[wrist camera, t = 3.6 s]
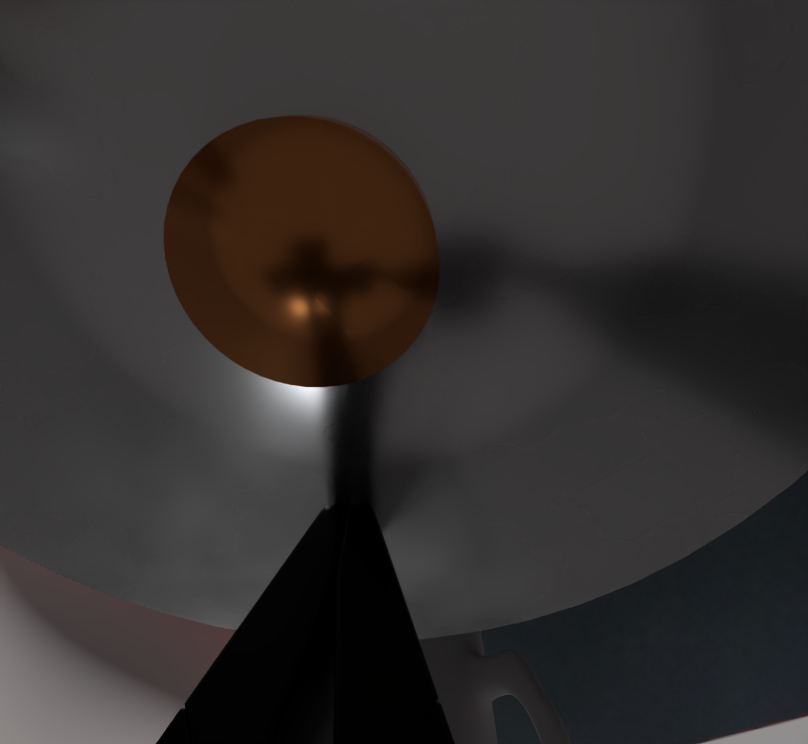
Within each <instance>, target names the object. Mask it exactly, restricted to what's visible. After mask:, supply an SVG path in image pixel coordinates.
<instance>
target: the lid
mask: <svg viewBox="0 0 808 744" xmlns="http://www.w3.org/2000/svg"><path fill="white" fill-rule="evenodd" d="M806 471H808V0H0V545H2V546H3V547H5V548H7V549H9V550H11V551H13V552H15V553H17V554H19V555H21V556H23V557H25V558H27V559H29V560H31V561H33V562H35V563H37V564H39V565H41V566H43V567H45V568H47V569H49V570H51V571H53V572H55V573H57V574H60V575H62V576H65V577H67V578H70V579H72V580H74V581H76V582H79V583H81V584H84V585H86V586H89V587H91V588H93V589H96V590H98V591H101V592H103V593H105V594H108V595H110V596H113V597H116V598H119V599H122V600H125V601H128V602H131V603H134V604H137V605H140V606H143V607H147V608H149V609H153V610H155V611H158V612H162V613H165V614H169V615H173V616H177V617H181V618H185V619H188V620H192V621H197V622H200V623H204V624H208V625H212V626H216V627H222V628H227V629H233V630H237V629H238V627H239V626H240V624H241V623H242V621H243V620H244V619H245V617H246V616H247V614H248V613H249V612H250V610H251V609H252V607H253V606H254V604H255V603H256V602H257V600H258V599H259V597H260V596H261V595H262V593H263V592H264V590H265V589H266V587H267V586H268V585H269V583H270V582H271V580H272V579H273V578H274V576H275V575H276V573H277V572H278V570H279V569H280V568H281V566H282V565H283V563H284V562H285V561H286V559H287V558H288V556H289V555H290V553H291V552H292V551H293V549H294V548H295V546H296V545H297V544H298V542H299V541H300V539H301V538H302V537H303V535H304V534H305V532H306V531H307V529H308V528H309V527H310V525H311V524H312V522H313V521H314V519H315V518H316V517H317V515H318V514H319V512H320V511H321V510H322V508H324V507H325V506H333V505H345V506H347V507H348V508H349V507H350V506H351V505H359V504H371V505H372V506H373V507H374V510H375V513H376V516H377V519H378V521H379V524H380V527H381V530H382V533H383V536H384V539H385V542H386V545H387V548H388V551H389V554H390V557H391V559H392V562H393V565H394V568H395V571H396V574H397V577H398V580H399V583H400V586H401V589H402V592H403V594H404V597H405V600H406V603H407V606H408V609H409V612H410V615H411V618H412V621H413V624H414V627H415V630H416V632H417V635H418V638H419V639H428V638H436V637H443V636H450V635H458V634H465V633H472V632H478V631H483V630H487V629H492V628H496V627H501V626H505V625H510V624H515V623H519V622H524V621H528V620H531V619H534V618H538V617H541V616H544V615H547V614H551V613H554V612H557V611H561V610H564V609H567V608H570V607H574V606H577V605H580V604H582V603H585V602H587V601H590V600H592V599H595V598H597V597H600V596H602V595H605V594H607V593H610V592H612V591H615V590H617V589H620V588H622V587H625V586H627V585H630V584H632V583H634V582H636V581H638V580H640V579H642V578H644V577H646V576H648V575H650V574H652V573H654V572H656V571H658V570H660V569H662V568H664V567H666V566H668V565H670V564H672V563H674V562H676V561H678V560H680V559H682V558H684V557H686V556H687V555H689V554H691V553H692V552H694V551H695V550H697V549H699V548H700V547H702V546H704V545H705V544H707V543H708V542H710V541H712V540H713V539H715V538H717V537H718V536H720V535H721V534H723V533H725V532H726V531H728V530H730V529H731V528H733V527H735V526H736V525H738V524H739V523H740V522H742V521H743V520H745V519H746V518H747V517H749V516H750V515H751V514H753V513H754V512H755V511H757V510H758V509H759V508H761V507H762V506H763V505H765V504H766V503H767V502H769V501H770V500H771V499H773V498H774V497H776V496H777V495H778V494H780V493H781V492H782V491H784V490H785V489H786V488H788V487H789V486H790V485H792V484H793V483H794V482H795V481H796V480H797V479H799V478H800V477H801V476H802V475H803V474H804V473H805V472H806Z"/></svg>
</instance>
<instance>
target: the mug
mask: <svg viewBox="0 0 808 744" xmlns="http://www.w3.org/2000/svg"><path fill="white" fill-rule="evenodd" d="M419 641H420V644H421V647H422V650H423V653H424V656H425V659H426V662H427V665H428V668H429V670H430V673H431V676H432V679H433V682H434V685H435V688H436V691H437V694H438V697H439V703H441V705H442V708H443V711H444V713H445V716H446V719H447V722H448V725H449V728H450V731H451V734H452V737H453V739H454V742H455V744H498V742H497V736H496V729H495V722H494V715H493V708H492V701H493V700H494V699H496V698H498V697H500V696H503V695H506V694H511V695H514V696H515V697H516V698H517V699H518V700H519V702H520V703H521V704H522V705H523V707H524V708H525V709H526V711H527V713H528V714H529V716H530V718H531V720H532V722H533V724H534V727H535V729H536V731H537V734H538V736H539V739H540V742H541V744H571V742H570V739H569V737H568V734H567V732H566V729H565V727H564V725H563V723H562V720H561V718H560V717H559V715H558V713H557V711H556V709H555V707H554V706H553V704H552V702H551V701H550V699H549V697H548V696H547V694H546V692H545V691H544V689H543V687H542V686H541V684H540V682H539V681H538V679H537V677H536V676H535V674H534V672H533V670H532V669H531V667H530V665H529V664H528V662H527V661H526V659H525V658H524V657H523V656H521V655H520V654H519V653H518V652H517V651H515V650H512V649H507V650H504V651H502V652H500V653H497V654H494V655H490V656H485V655H484V648H483V642H482V636H481V631H478V632H472V633H465V634H458V635H450V636H443V637H436V638H428V639H419Z"/></svg>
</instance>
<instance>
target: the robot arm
mask: <svg viewBox="0 0 808 744" xmlns="http://www.w3.org/2000/svg"><path fill="white" fill-rule="evenodd" d="M156 744H455V742H454V739H453V737H452V734H451V731H450V728H449V725H448V722H447V719H446V716H445V713H444V711H443V708H442V705H441V703H439V697H438V694H437V691H436V688H435V685H434V682H433V679H432V676H431V673H430V670H429V668H428V665H427V662H426V659H425V656H424V653H423V650H422V647H421V644H420V641H419V638H418V635H417V632H416V630H415V627H414V624H413V621H412V618H411V615H410V612H409V609H408V606H407V603H406V600H405V597H404V594H403V592H402V589H401V586H400V583H399V580H398V577H397V574H396V571H395V568H394V565H393V562H392V559H391V557H390V554H389V551H388V548H387V545H386V542H385V539H384V536H383V533H382V530H381V527H380V524H379V521H378V519H377V516H376V513H375V510H374V507H373V506H372V505H371V504H359V505H351V506H350V507H349V508H348V507H347V506H345V505H333V506H325V507H324V508H322V510H321V511H320V512H319V514H318V515H317V517H316V518H315V519H314V521H313V522H312V524H311V525H310V527H309V528H308V529H307V531H306V532H305V534H304V535H303V537H302V538H301V539H300V541H299V542H298V544H297V545H296V546H295V548H294V549H293V551H292V552H291V553H290V555H289V556H288V558H287V559H286V561H285V562H284V563H283V565H282V566H281V568H280V569H279V570H278V572H277V573H276V575H275V576H274V578H273V579H272V580H271V582H270V583H269V585H268V586H267V587H266V589H265V590H264V592H263V593H262V595H261V596H260V597H259V599H258V600H257V602H256V603H255V604H254V606H253V607H252V609H251V610H250V612H249V613H248V614H247V616H246V617H245V619H244V620H243V621H242V623H241V624H240V626H239V627H238V629H237V630H236V631H235V633H234V634H233V636H232V637H231V639H230V640H229V642H228V643H227V644H226V646H225V647H224V649H223V650H222V651H221V653H220V654H219V656H218V657H217V658H216V660H215V661H214V663H213V664H212V665H211V667H210V668H209V670H208V671H207V673H206V674H205V675H204V677H203V678H202V680H201V681H200V682H199V684H198V685H197V687H196V688H195V690H194V691H193V692H192V694H191V695H190V697H189V698H188V700H187V701H186V703H185V709H184V708H182V709H180V710H179V712H178V713H177V715H176V716H175V717H174V719H173V720H172V722H171V723H170V725H169V726H168V727H167V729H166V730H165V732H164V733H163V735H162V736H161V737H160V739H159V740H158V741H157V743H156Z"/></svg>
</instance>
